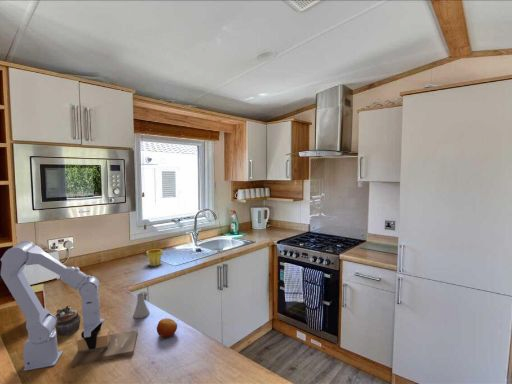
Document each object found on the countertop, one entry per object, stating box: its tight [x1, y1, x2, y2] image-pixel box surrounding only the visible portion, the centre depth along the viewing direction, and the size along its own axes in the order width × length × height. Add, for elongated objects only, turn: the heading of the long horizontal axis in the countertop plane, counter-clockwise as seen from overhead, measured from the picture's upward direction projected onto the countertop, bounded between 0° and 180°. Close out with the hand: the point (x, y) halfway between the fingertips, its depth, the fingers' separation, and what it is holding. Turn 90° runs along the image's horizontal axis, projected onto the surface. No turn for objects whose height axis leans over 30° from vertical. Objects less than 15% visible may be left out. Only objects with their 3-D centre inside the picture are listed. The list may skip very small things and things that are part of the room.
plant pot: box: [146, 248, 163, 267], centre depth 204 cm, size 10×10×10 cm
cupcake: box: [54, 305, 82, 337], centre depth 124 cm, size 10×10×10 cm
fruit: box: [156, 317, 178, 342], centre depth 119 cm, size 8×8×8 cm
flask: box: [133, 292, 150, 319], centre depth 136 cm, size 7×7×10 cm
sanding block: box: [76, 328, 111, 353], centre depth 110 cm, size 10×4×5 cm, turn 106°
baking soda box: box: [30, 283, 47, 309], centre depth 131 cm, size 10×6×16 cm
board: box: [71, 329, 139, 367], centre depth 111 cm, size 20×14×2 cm
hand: (94, 344), depth 110 cm, fingers closed on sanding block, 4 cm apart
